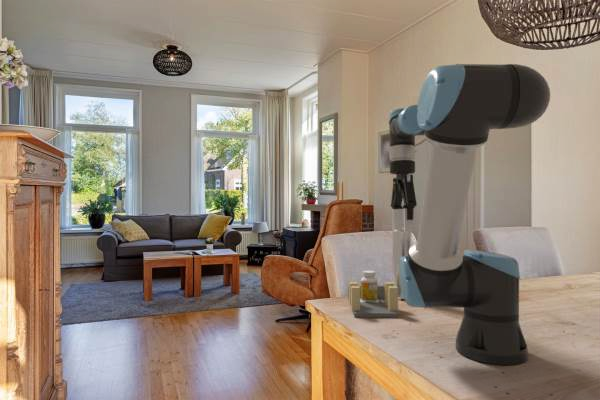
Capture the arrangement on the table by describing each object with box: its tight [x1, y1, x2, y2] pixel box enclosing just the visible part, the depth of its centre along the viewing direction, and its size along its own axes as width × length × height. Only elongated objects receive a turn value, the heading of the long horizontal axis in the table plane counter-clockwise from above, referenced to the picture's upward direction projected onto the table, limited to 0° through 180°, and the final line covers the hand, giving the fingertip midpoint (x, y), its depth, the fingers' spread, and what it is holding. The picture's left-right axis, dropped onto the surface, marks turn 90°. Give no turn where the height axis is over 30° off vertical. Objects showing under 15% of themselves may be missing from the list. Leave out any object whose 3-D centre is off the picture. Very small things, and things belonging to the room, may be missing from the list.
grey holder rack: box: [347, 281, 399, 318], centre depth 133 cm, size 20×14×8 cm
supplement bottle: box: [360, 270, 378, 302], centre depth 137 cm, size 5×5×10 cm
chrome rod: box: [392, 227, 412, 300], centre depth 146 cm, size 6×6×25 cm
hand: (402, 230), depth 124 cm, fingers open, 13 cm apart
